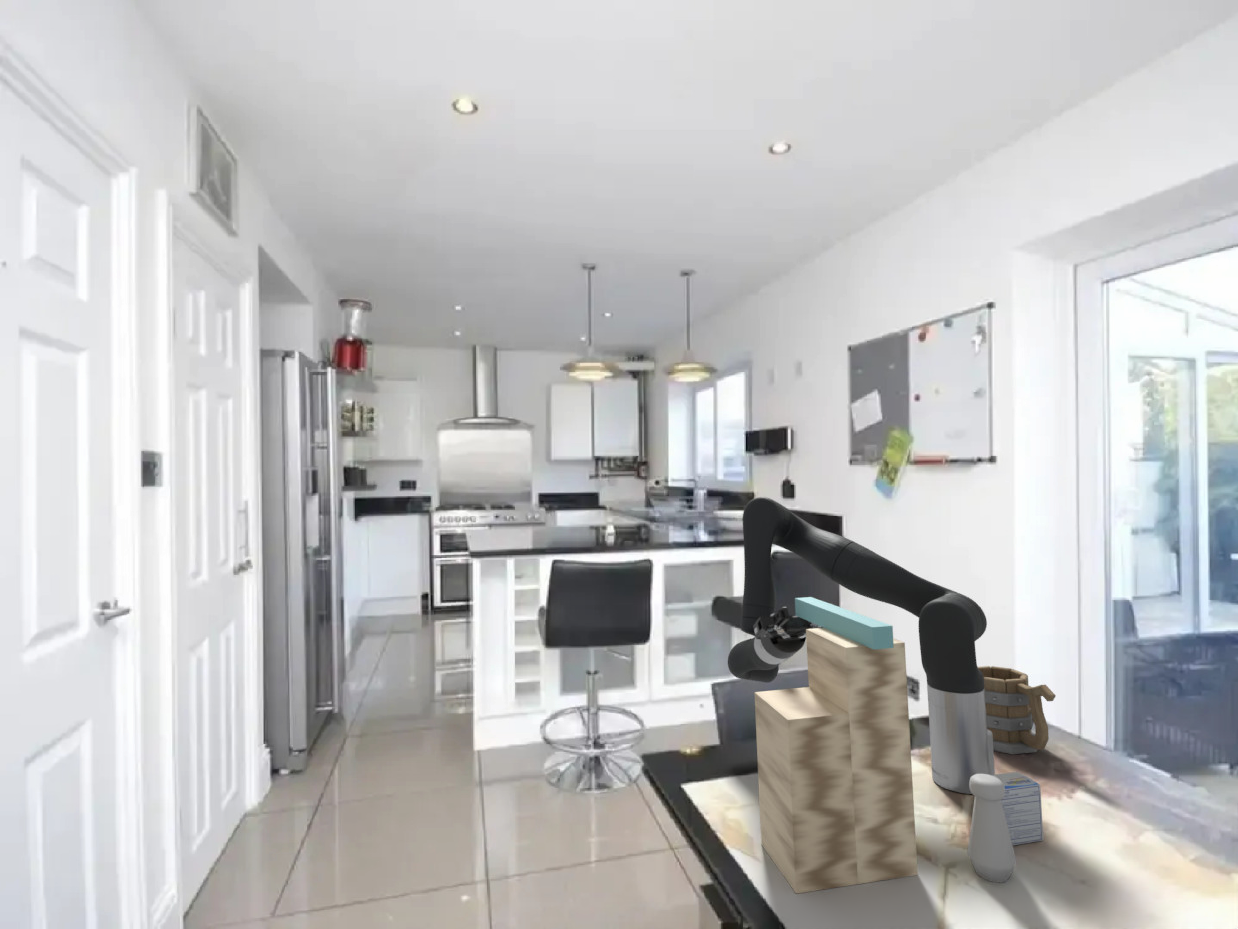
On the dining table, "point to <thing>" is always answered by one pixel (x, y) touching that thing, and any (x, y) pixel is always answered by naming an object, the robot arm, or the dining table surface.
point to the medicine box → (1022, 807)
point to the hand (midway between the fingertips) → (810, 610)
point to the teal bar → (846, 623)
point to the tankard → (1014, 710)
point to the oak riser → (838, 768)
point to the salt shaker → (990, 830)
